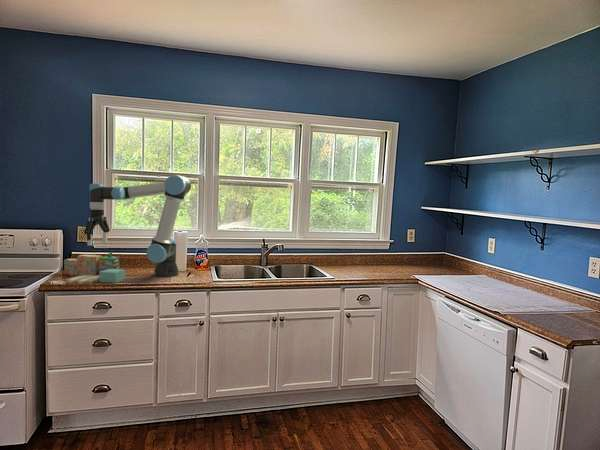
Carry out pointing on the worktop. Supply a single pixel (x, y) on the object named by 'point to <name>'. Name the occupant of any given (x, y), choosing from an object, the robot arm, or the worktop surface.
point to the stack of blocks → (82, 265)
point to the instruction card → (57, 282)
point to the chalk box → (109, 262)
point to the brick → (111, 275)
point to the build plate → (83, 279)
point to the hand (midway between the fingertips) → (97, 244)
